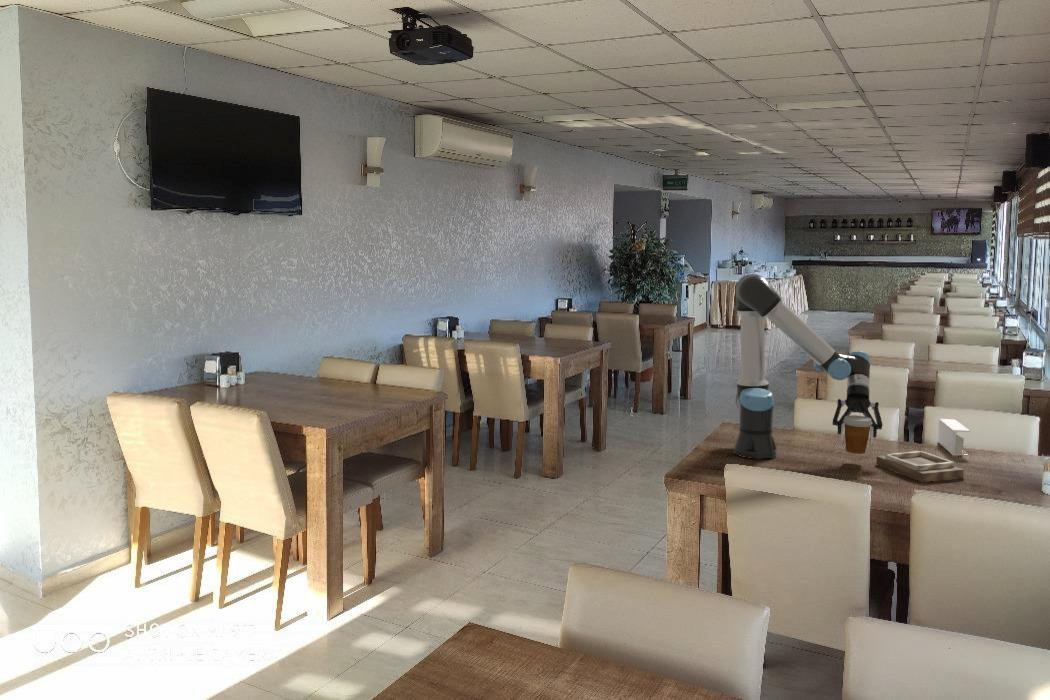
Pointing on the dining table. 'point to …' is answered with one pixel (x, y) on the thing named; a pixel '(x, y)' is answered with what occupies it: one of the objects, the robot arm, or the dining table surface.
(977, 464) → the dining table surface
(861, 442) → the disposable coffee cup
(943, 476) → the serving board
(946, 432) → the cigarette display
